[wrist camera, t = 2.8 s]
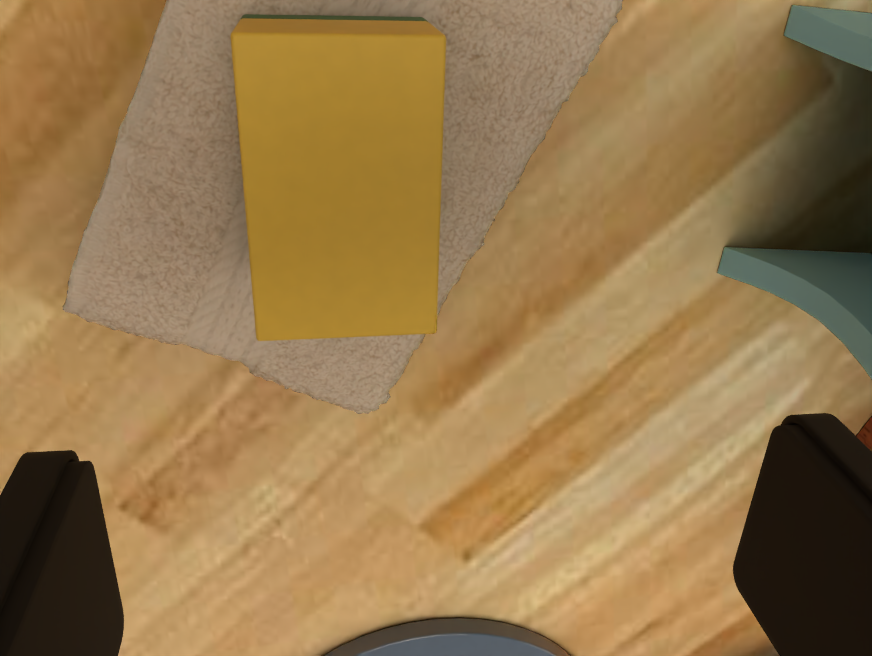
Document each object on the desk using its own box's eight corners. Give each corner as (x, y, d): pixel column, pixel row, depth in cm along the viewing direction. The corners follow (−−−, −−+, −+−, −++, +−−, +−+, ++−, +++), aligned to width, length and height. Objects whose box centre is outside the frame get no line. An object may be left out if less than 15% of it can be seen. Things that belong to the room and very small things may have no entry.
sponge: (262, 283, 25) (256, 342, 21) (241, 13, 21) (229, 32, 18) (418, 278, 26) (437, 334, 22) (424, 16, 22) (447, 34, 19)
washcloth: (623, -38, 25) (661, -33, 22) (376, 401, 31) (383, 447, 29) (273, -264, 21) (267, -291, 18) (70, 290, 27) (44, 331, 25)
